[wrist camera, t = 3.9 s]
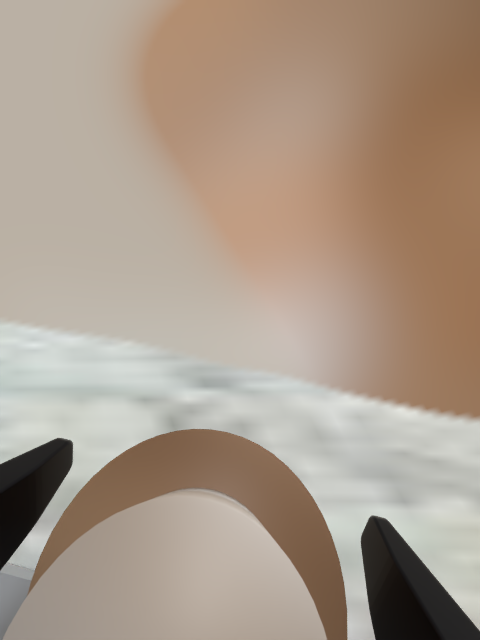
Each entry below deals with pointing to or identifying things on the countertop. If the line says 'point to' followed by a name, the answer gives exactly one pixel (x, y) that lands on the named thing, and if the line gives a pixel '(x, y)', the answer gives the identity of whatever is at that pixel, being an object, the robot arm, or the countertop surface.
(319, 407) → the countertop surface
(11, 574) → the display stand
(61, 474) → the robot arm
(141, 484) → the pepper mill
